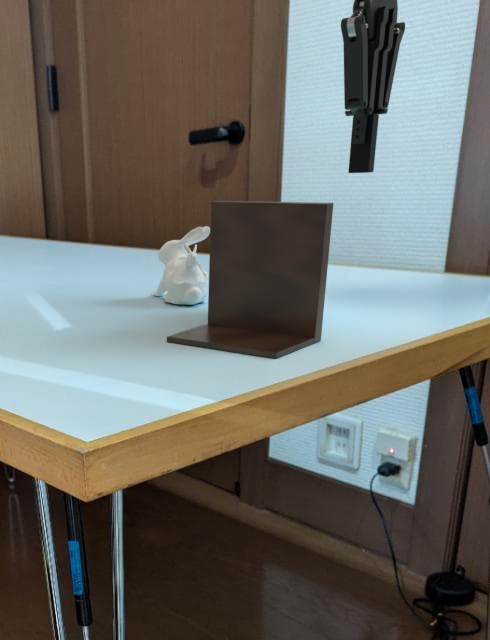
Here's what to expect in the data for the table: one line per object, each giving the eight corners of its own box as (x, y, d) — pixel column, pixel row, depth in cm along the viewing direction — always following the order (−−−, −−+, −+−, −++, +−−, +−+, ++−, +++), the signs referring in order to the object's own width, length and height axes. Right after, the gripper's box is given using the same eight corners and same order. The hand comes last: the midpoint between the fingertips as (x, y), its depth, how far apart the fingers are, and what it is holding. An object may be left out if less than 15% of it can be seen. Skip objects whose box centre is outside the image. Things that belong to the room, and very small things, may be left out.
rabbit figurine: (149, 294, 117) (149, 224, 113) (198, 290, 118) (200, 220, 114) (175, 309, 106) (176, 232, 102) (228, 304, 108) (231, 228, 103)
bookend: (321, 340, 88) (333, 202, 81) (276, 358, 81) (286, 210, 75) (214, 326, 96) (218, 200, 90) (166, 341, 90) (167, 207, 84)
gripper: (374, -38, 100) (355, 170, 110) (324, -51, 91) (309, 176, 101) (435, -50, 95) (410, 169, 105) (388, -65, 86) (366, 174, 97)
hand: (360, 172), depth 103 cm, fingers closed
